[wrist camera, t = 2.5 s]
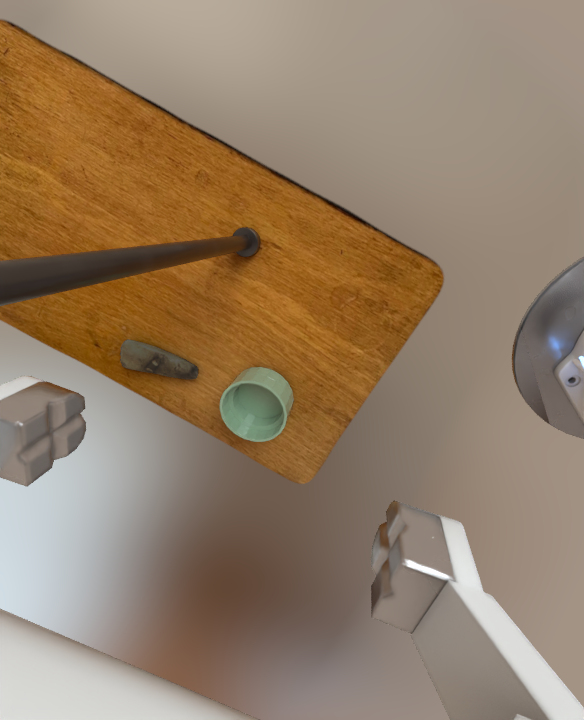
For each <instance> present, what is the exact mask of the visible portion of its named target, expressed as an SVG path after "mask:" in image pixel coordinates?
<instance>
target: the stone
mask: <svg viewBox="0 0 584 720" xmlns="http://www.w3.org/2000/svg"><path fill="white" fill-rule="evenodd" d="M120 355H121V359H120V361H121V363H122V366H123V367H125V368H128V369H132V370H137V371H142V372H149V373H154V374H160V375H163V376H168V377H174V378H180V379H196V378H197V376H198V367H197V366H196V365H194V364H192V363H190V362H189V361H187V360H185V359H183V358H181V357H179V356H177V355H174V354H172V353H170V352H167V351H165V350H162V349H160V348H157V347H154V346H151V345H148V344H145V343H142V342H138V341H134V340H126V341H125V342H124V343H123V344H122V347H121V353H120Z"/></svg>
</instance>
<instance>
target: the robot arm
mask: <svg viewBox="0 0 584 720" xmlns="http://www.w3.org/2000/svg"><path fill="white" fill-rule="evenodd" d="M554 375H555V377H556V379H557V380H558V382H559V384H560V386H561V387H562V389H563V391H564V392H565V394H566V396H567V397H568V399H569V401H570V402H571V404H572V406H573V407H574V409H575V411H576V413H577V414H578V416H579V418H580V419H581V421H582V423H583V424H584V330H583V332H582V333H581V335H580V337H579V339H578V341H577V343H576V345H575V347H574V349H573V350H572V352H571V353H570V354H569V355H568V356H567V357H566V358H565V359H563V360H562V361H561V362H560V363H559V364H558V365H557V367H556V368H555V370H554ZM571 377H573V379H572V380H570V381H568V380H569V378H571ZM84 409H85V400H84V397H83V396H82V395H80V394H79V393H76V392H74V391H71V390H68V389H65V388H62V387H60V386H57V385H54V384H52V383H49V382H45V381H42V380H40V379H37V378H34V377H32V376H21V377H18V378H16V379H14V380H11V381H9V382H7V383H4V384H2V385H0V477H1V478H3V479H7V480H9V481H12V482H15V483H18V484H21V485H24V486H28V485H30V484H31V483H33V482H34V481H35V480H36V479H38V478H39V477H40V476H42V475H43V474H44V473H46V472H47V471H48V470H50V469H51V468H52V465H53V462H54V460H56V459H59V458H63V457H66V456H68V455H69V454H70V453H72V452H73V451H74V450H75V449H77V447H78V445H79V444H80V443H81V441H82V440H83V438H84V434H85V431H86V422H85V420H84V419H83V417H82V415H81V414H80V413H81V412H82V411H83V410H84ZM386 515H387V522H385V523H383V524H381V525H380V526H379V528H378V531H377V533H376V536H375V539H374V543H373V548H372V557H371V567H372V569H373V570H374V572H375V574H376V578H375V580H374V582H373V584H372V586H371V591H372V593H371V595H372V597H371V598H372V599H371V600H372V618H374V619H377V620H379V621H382V622H384V623H386V624H389V625H392V626H394V627H396V628H399V629H401V630H404V631H406V632H408V633H411V634H412V635H411V637H412V639H413V642H414V644H415V646H416V648H417V650H418V652H419V654H420V656H421V659H422V661H423V662H424V665H425V667H426V669H427V671H428V674H429V676H430V678H431V680H432V682H433V684H434V686H435V688H436V691H437V692H438V694H439V697H440V699H441V701H442V703H443V705H444V707H445V710H446V712H447V714H448V716H449V718H450V720H584V708H583V706H582V705H581V704H580V703H579V701H578V700H577V699H576V698H575V696H574V695H573V694H572V693H571V692H570V690H569V689H568V688H567V687H566V685H564V683H563V682H562V681H561V679H560V678H559V677H558V676H557V675H556V673H555V672H554V671H553V670H552V669H551V667H550V666H549V665H548V664H547V662H546V661H545V660H544V659H543V657H542V656H541V655H540V654H539V653H538V652H537V650H536V649H535V648H534V647H533V645H532V644H531V643H530V642H529V640H528V639H527V638H526V637H525V636H524V634H523V633H522V632H521V631H520V629H519V628H518V627H517V626H516V625H515V623H514V622H513V621H512V620H511V619H510V617H509V616H508V615H507V614H506V612H505V611H504V610H503V609H502V608H501V606H500V605H499V604H498V603H497V601H496V600H495V599H494V598H493V597H492V595H489V594H487V593H484V591H483V588H482V585H481V581H480V578H479V575H478V572H477V569H476V566H475V562H474V559H473V556H472V553H471V550H470V547H469V543H468V541H467V537H466V534H465V531H464V528H463V525H462V524H461V523H460V522H459V521H456V520H453V519H450V518H447V517H444V516H441V515H435V514H433V513H430V512H427V511H424V510H421V509H418V508H415V507H412V506H409V505H406V504H403V503H400V502H397V501H393V502H392V503H391V504H390V506H389V508H388V509H387V511H386ZM0 720H259V719H257V718H254V717H252V716H250V715H248V714H245V713H243V712H241V711H238V710H236V709H234V708H231V707H229V706H227V705H224V704H222V703H220V702H217V701H215V700H212V699H210V698H208V697H206V696H203V695H201V694H199V693H196V692H194V691H192V690H189V689H187V688H185V687H182V686H180V685H178V684H175V683H173V682H170V681H168V680H166V679H164V678H161V677H159V676H156V675H154V674H152V673H149V672H147V671H145V670H142V669H140V668H138V667H135V666H133V665H131V664H128V663H126V662H124V661H121V660H119V659H117V658H114V657H112V656H110V655H107V654H105V653H102V652H100V651H98V650H96V649H93V648H91V647H89V646H86V645H84V644H81V643H79V642H77V641H74V640H72V639H70V638H67V637H65V636H63V635H60V634H58V633H55V632H53V631H51V630H49V629H46V628H44V627H42V626H39V625H37V624H35V623H32V622H30V621H28V620H25V619H23V618H21V617H18V616H16V615H14V614H11V613H9V612H7V611H4V610H2V609H0Z"/></svg>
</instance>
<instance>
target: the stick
mask: <svg viewBox="0 0 584 720" xmlns="http://www.w3.org/2000/svg"><path fill="white" fill-rule="evenodd" d="M259 248H260V237H259V235H258V233H257V232H256V231H255V230H253V229H252V228H248V227H246V228H240V229H238V230H236V231H235V233H234V234H233V236H231V237H221V238H212V239H203V240H193V241H184V242H175V243H165V244H156V245H146V246H137V247H128V248H118V249H109V250H100V251H90V252H81V253H71V254H62V255H53V256H43V257H34V258H25V259H15V260H6V261H0V306H2V305H7V304H11V303H16V302H20V301H24V300H29V299H33V298H37V297H42V296H46V295H50V294H55V293H59V292H64V291H68V290H72V289H77V288H81V287H85V286H90V285H94V284H98V283H103V282H107V281H112V280H116V279H120V278H125V277H129V276H133V275H138V274H142V273H146V272H151V271H155V270H160V269H164V268H168V267H173V266H177V265H181V264H186V263H190V262H195V261H199V260H203V259H208V258H212V257H216V256H221V255H225V254H229V253H234V252H236V253H237V254H239V255H240V256H243V257H249V256H252V255H254V254H256V253H257V252H258V250H259Z"/></svg>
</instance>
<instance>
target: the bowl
mask: <svg viewBox="0 0 584 720" xmlns="http://www.w3.org/2000/svg"><path fill="white" fill-rule="evenodd" d="M293 402H294V398H293V392H292V389H291V387H290V385H289V384H288V382H287V381H286V380H285V379H284V378H283V377H282V376H281V375H280V374H279V373H277V372H275V371H273V370H271V369H267V368H263V367H254V368H249V369H246V370H244V371H242V372H241V373H240V374H239V375H238V376H237V377H236V378H235V379H234V380H233V381H232V383H231V384H230V385H229V386H228V387H227V388H226V390H225V391H224V393H223V395H222V397H221V399H220V413H221V416H222V419H223V421H224V422H225V424H226V426H227V427H228V428H229V429H230V430H231V431H232V432H233V433H234V434H236V435H238V436H239V437H241V438H243V439H246V440H249V441H253V442H265V441H268V440H271V439H274V438H275V437H276V436H278V435H279V434H280V433H281V432H282V430H283V429H284V427H285V425H286V423H287V420H288V418H289V415H290V413H291V410H292V407H293Z"/></svg>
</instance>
